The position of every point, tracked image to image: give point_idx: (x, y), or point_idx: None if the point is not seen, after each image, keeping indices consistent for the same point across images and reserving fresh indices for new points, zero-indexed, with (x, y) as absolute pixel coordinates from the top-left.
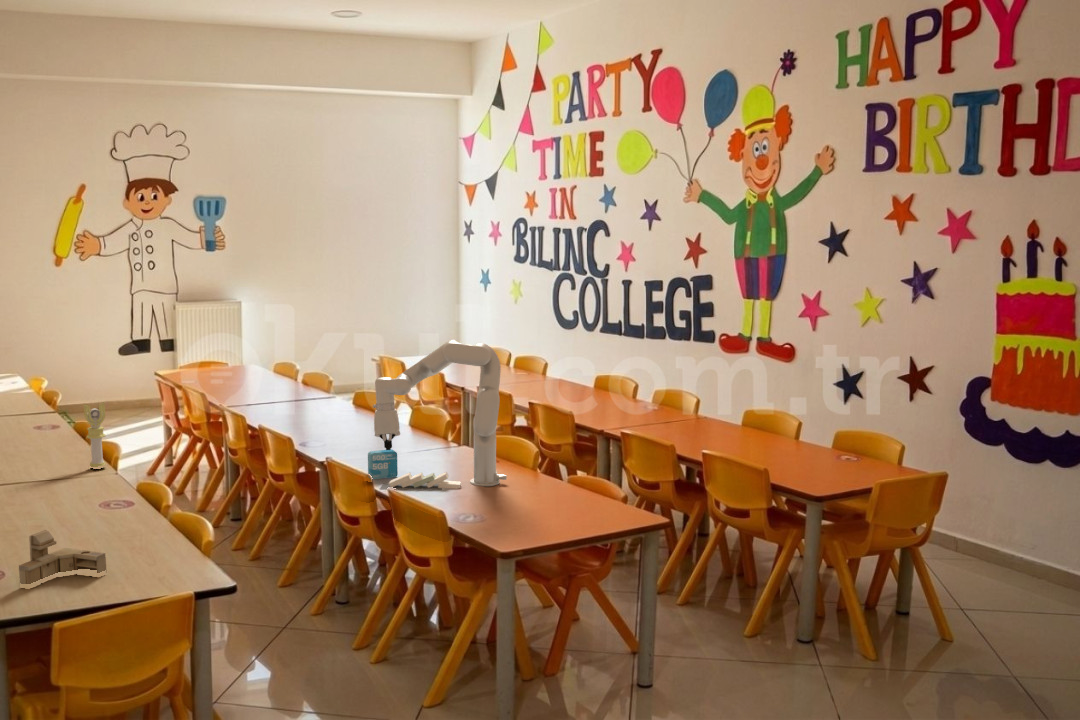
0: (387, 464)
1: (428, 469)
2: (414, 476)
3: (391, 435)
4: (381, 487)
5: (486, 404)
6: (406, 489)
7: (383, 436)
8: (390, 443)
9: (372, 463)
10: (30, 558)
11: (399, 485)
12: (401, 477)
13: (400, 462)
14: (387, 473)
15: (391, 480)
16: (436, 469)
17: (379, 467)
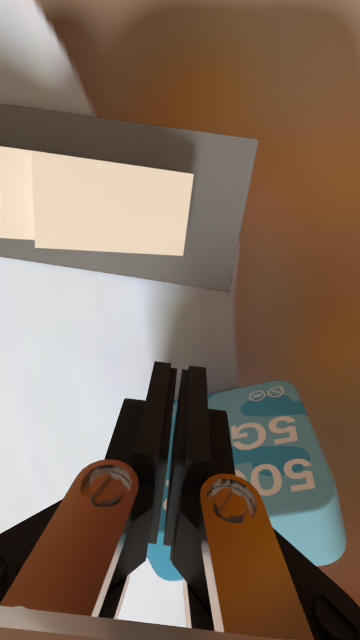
0: None
1: (35, 505)
2: (9, 204)
3: (28, 578)
4: (241, 191)
5: None
6: (80, 117)
7: (263, 583)
8: (125, 437)
9: (303, 442)
10: None
11: None
12: (98, 192)
13: (156, 601)
14: None
15: (177, 247)
16: (3, 500)
17: (251, 428)
